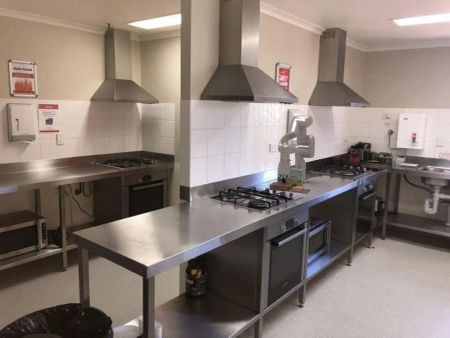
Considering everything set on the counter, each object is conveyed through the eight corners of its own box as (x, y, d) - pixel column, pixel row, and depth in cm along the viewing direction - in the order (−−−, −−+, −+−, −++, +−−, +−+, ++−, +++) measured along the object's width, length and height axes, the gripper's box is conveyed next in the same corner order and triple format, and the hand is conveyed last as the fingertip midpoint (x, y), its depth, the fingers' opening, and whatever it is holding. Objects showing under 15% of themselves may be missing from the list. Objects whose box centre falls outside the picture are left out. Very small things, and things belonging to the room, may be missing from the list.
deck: (273, 186, 306) (274, 181, 306) (293, 188, 300) (293, 183, 300) (269, 189, 293) (269, 184, 293) (289, 191, 287) (289, 186, 287)
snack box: (276, 185, 315) (277, 167, 312) (278, 184, 320) (279, 166, 317) (301, 187, 305) (301, 169, 303) (302, 186, 310) (303, 168, 308)
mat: (294, 188, 301) (294, 187, 301) (310, 189, 296) (310, 189, 296) (290, 191, 286) (290, 191, 286) (307, 193, 281) (307, 193, 281)
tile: (303, 186, 294) (303, 189, 295) (296, 185, 296) (296, 188, 297) (301, 188, 286) (301, 191, 286) (294, 187, 288) (293, 190, 289)
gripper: (295, 160, 294) (293, 183, 296) (276, 159, 299) (275, 181, 302) (293, 161, 287) (292, 184, 289) (274, 160, 292) (273, 183, 295)
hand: (283, 183), depth 295 cm, fingers closed
